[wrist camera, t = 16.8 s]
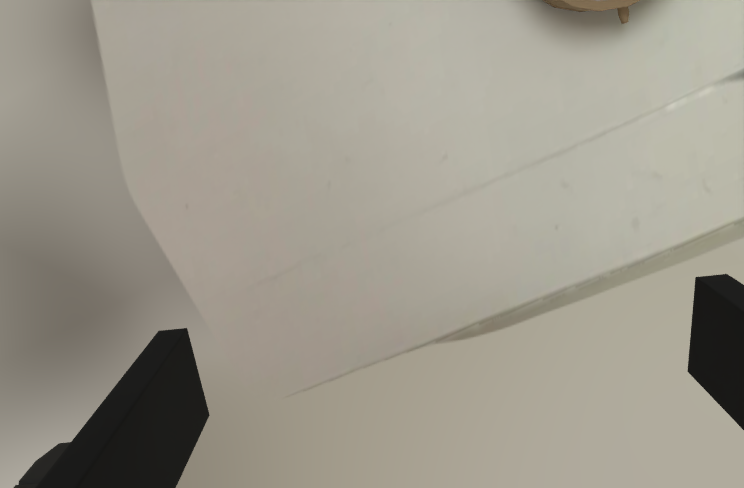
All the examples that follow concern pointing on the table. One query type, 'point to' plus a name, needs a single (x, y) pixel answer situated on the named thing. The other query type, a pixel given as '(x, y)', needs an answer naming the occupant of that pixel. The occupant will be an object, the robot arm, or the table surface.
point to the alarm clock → (595, 6)
